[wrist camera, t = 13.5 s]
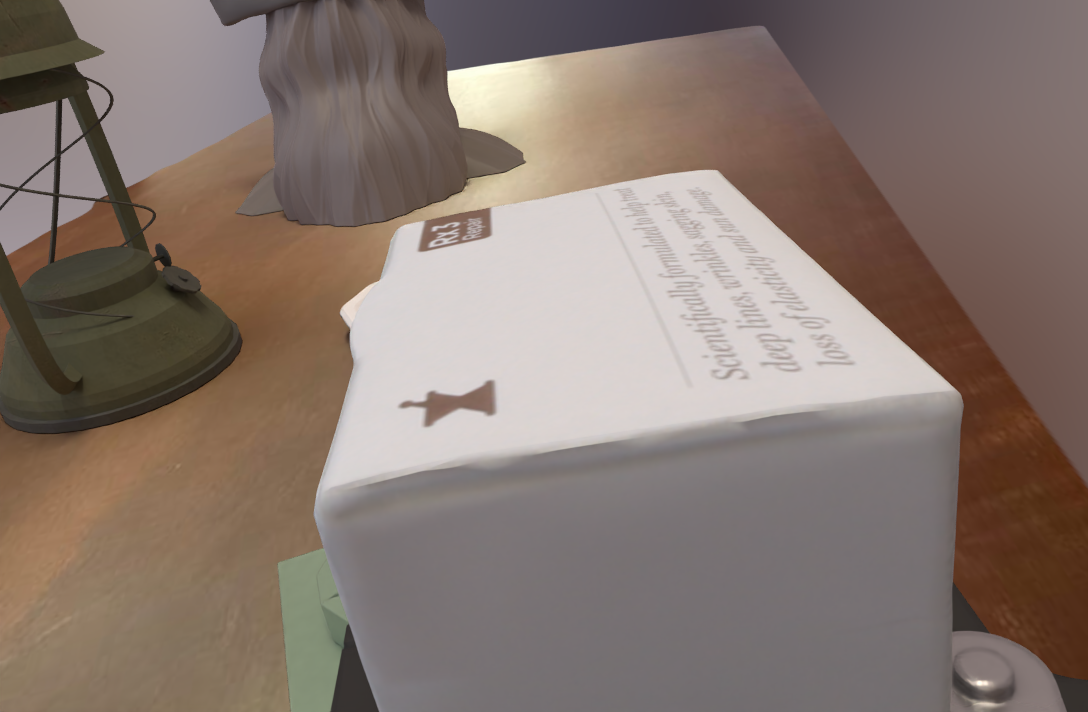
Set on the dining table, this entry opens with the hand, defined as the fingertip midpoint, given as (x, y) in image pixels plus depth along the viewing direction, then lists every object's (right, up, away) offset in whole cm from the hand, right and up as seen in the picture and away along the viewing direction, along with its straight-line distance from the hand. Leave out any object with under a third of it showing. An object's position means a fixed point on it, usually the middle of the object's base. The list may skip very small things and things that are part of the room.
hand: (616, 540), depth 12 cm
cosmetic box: (+1, -8, +1) cm, 8 cm away
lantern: (-32, +1, +53) cm, 62 cm away
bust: (-20, +23, +92) cm, 97 cm away
